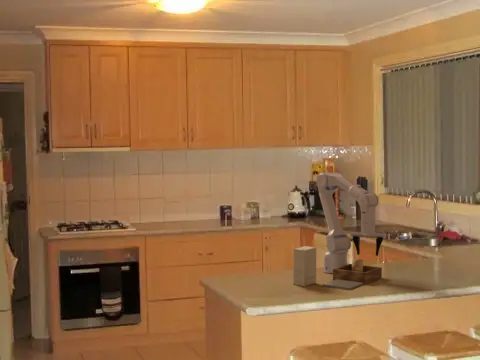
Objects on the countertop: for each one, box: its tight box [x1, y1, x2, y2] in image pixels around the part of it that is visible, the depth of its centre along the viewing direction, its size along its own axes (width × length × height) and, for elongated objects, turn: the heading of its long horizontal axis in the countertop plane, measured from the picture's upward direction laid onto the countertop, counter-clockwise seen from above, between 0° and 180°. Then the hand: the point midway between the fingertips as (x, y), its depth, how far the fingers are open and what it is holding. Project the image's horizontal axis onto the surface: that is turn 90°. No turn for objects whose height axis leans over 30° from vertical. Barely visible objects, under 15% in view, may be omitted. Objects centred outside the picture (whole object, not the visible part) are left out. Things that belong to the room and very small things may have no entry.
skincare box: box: [292, 245, 317, 287], centre depth 296 cm, size 8×6×15 cm
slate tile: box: [322, 279, 364, 291], centre depth 293 cm, size 12×12×1 cm
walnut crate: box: [332, 263, 383, 285], centre depth 306 cm, size 15×15×4 cm
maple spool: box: [351, 258, 364, 272], centre depth 306 cm, size 4×4×6 cm
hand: (367, 254), depth 305 cm, fingers open, 7 cm apart
